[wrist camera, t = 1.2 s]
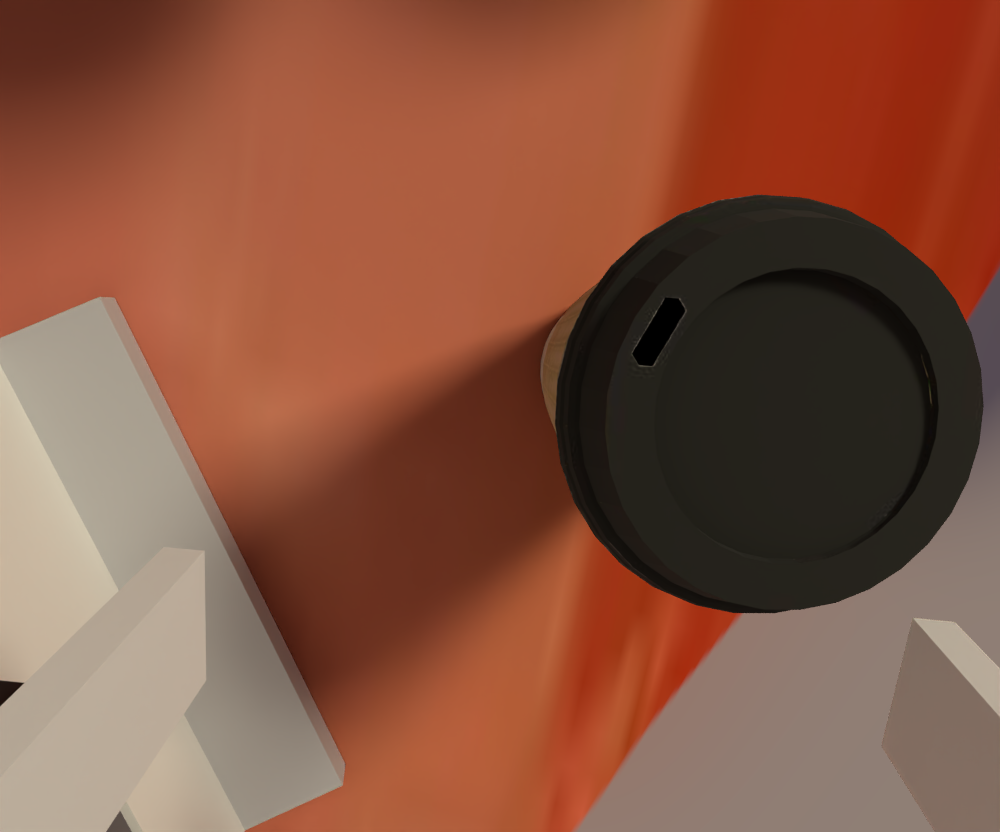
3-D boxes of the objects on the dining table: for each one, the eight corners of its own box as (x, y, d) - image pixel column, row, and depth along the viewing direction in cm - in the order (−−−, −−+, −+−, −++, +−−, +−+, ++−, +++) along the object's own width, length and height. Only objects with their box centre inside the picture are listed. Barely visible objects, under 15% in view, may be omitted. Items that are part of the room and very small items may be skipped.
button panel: (-45, 363, 30) (-715, 439, 12) (114, 297, 30) (-307, 274, 12) (204, 828, 33) (-30, 1439, 15) (345, 764, 33) (279, 1287, 15)
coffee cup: (656, 537, 33) (858, 715, 19) (445, 416, 32) (483, 506, 17) (784, 326, 33) (1095, 337, 18) (577, 193, 31) (732, 85, 17)
